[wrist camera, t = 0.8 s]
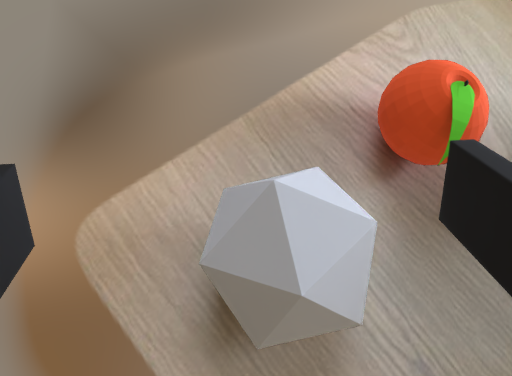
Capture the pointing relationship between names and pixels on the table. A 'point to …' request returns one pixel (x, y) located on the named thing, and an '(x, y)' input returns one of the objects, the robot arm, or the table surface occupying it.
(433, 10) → the table surface
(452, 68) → the clementine
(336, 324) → the die
